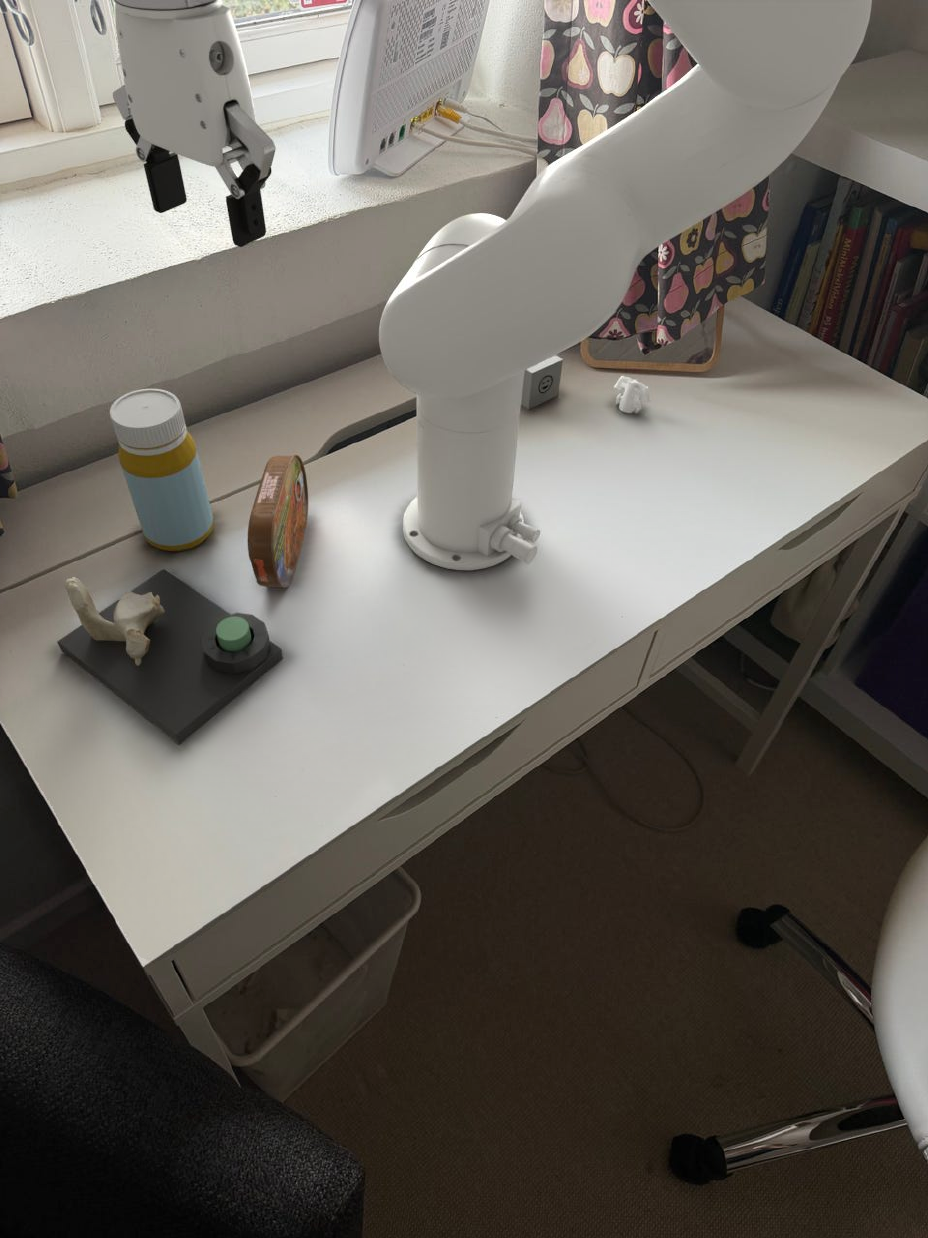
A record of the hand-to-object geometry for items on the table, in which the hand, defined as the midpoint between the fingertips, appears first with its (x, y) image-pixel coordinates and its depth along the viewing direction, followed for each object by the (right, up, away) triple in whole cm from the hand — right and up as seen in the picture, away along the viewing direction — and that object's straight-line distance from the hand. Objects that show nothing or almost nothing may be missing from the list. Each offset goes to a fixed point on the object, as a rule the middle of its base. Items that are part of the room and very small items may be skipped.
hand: (209, 223), depth 75 cm
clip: (+41, -8, +33) cm, 53 cm away
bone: (-8, -36, +4) cm, 37 cm away
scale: (-5, -37, +5) cm, 37 cm away
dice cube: (+30, -6, +34) cm, 46 cm away
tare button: (+2, -35, +3) cm, 36 cm away
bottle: (-8, -25, +16) cm, 30 cm away
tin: (+3, -27, +14) cm, 31 cm away
